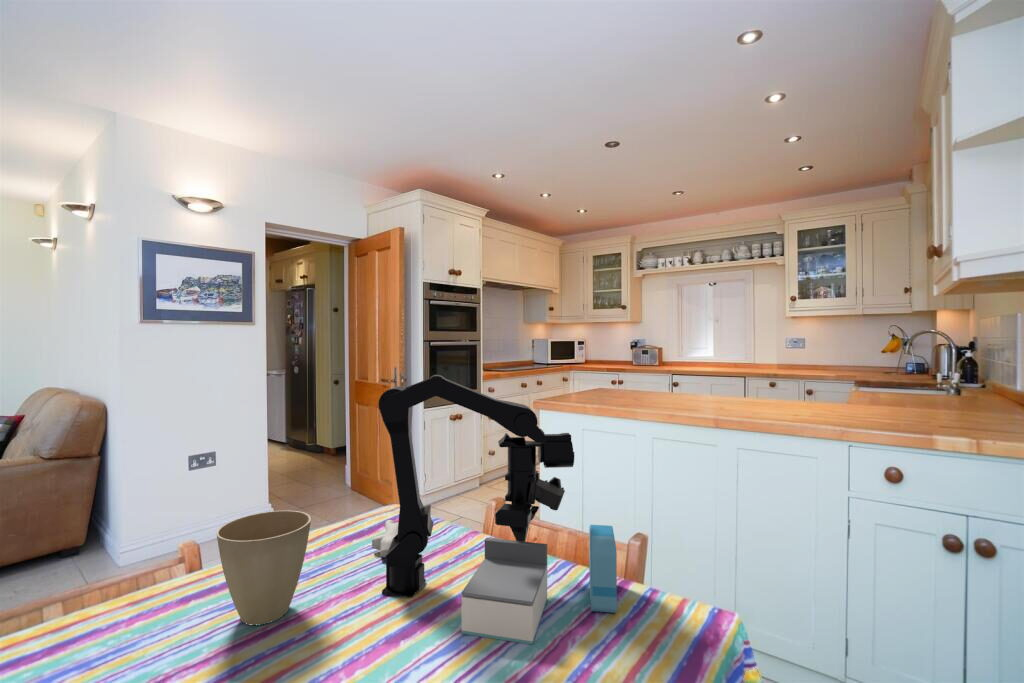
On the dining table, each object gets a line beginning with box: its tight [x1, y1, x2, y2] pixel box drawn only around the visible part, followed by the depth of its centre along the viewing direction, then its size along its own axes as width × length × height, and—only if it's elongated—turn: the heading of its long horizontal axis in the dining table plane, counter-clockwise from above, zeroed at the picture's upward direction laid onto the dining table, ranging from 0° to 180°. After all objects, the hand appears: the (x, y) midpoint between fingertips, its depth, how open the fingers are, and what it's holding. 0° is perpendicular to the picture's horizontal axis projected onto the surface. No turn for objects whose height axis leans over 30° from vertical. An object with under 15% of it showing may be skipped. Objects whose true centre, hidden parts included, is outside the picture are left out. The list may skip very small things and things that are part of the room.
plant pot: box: [216, 510, 312, 626], centre depth 84 cm, size 15×15×16 cm
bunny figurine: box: [371, 519, 398, 558], centre depth 112 cm, size 10×5×15 cm
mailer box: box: [461, 567, 548, 645], centre depth 84 cm, size 12×14×6 cm
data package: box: [588, 524, 618, 614], centre depth 89 cm, size 12×4×12 cm, turn 172°
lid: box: [461, 537, 548, 605], centre depth 84 cm, size 12×14×4 cm
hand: (521, 545), depth 95 cm, fingers closed
